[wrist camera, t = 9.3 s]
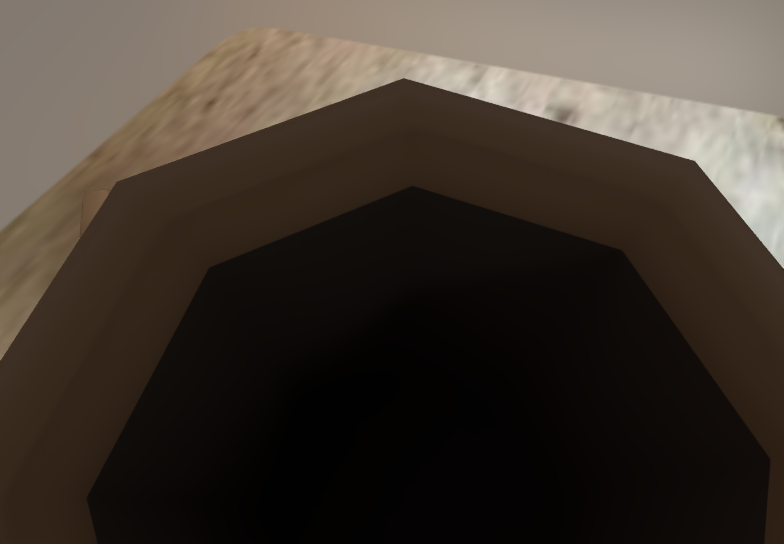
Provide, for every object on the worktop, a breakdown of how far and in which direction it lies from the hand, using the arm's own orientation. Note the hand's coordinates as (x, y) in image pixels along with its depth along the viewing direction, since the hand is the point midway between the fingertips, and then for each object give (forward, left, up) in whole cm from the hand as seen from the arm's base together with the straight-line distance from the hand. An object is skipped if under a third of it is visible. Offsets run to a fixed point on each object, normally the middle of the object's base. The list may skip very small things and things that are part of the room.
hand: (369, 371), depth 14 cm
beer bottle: (0, +4, -12) cm, 12 cm away
